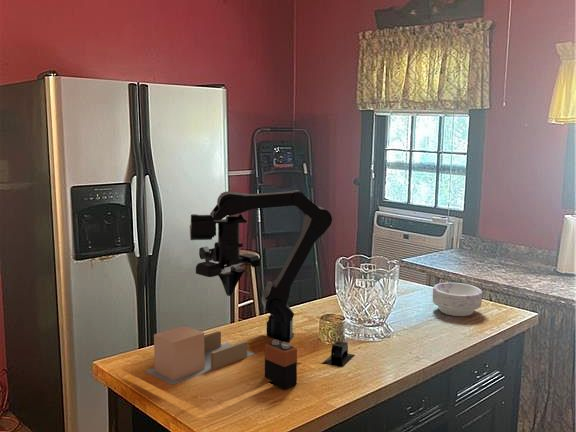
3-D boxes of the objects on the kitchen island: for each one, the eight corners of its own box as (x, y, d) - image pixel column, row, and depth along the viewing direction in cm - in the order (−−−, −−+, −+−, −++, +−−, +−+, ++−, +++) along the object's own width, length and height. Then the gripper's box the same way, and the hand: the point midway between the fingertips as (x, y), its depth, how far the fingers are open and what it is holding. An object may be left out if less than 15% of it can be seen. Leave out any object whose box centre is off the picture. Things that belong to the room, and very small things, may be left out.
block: (185, 360, 152) (184, 325, 151) (204, 368, 147) (204, 332, 146) (154, 370, 146) (153, 334, 144) (174, 380, 141) (173, 342, 139)
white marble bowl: (479, 322, 187) (480, 297, 186) (428, 316, 192) (429, 291, 191) (482, 308, 201) (484, 284, 200) (435, 303, 206) (436, 280, 205)
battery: (284, 390, 138) (284, 348, 137) (263, 381, 143) (263, 340, 142) (297, 385, 141) (298, 343, 140) (277, 376, 146) (277, 336, 145)
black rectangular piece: (336, 350, 164) (336, 334, 164) (361, 355, 161) (362, 338, 161) (316, 366, 154) (317, 349, 153) (343, 372, 150) (344, 354, 150)
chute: (227, 347, 165) (226, 328, 164) (255, 358, 157) (255, 338, 156) (144, 375, 146) (144, 354, 145) (172, 389, 138) (172, 367, 138)
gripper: (234, 230, 177) (234, 283, 179) (182, 239, 163) (183, 296, 165) (261, 236, 169) (261, 291, 172) (209, 245, 156) (209, 305, 158)
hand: (229, 295), depth 167 cm, fingers closed
